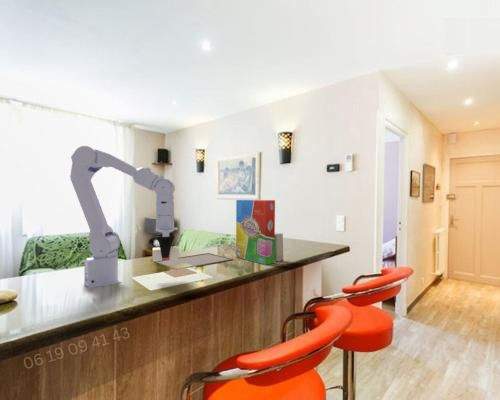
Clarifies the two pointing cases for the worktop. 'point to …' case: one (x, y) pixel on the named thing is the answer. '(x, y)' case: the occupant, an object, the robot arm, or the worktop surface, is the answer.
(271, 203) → the game box
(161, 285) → the mat
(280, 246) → the skincare box
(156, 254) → the card box
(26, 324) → the worktop surface
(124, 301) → the worktop surface
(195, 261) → the picture frame
